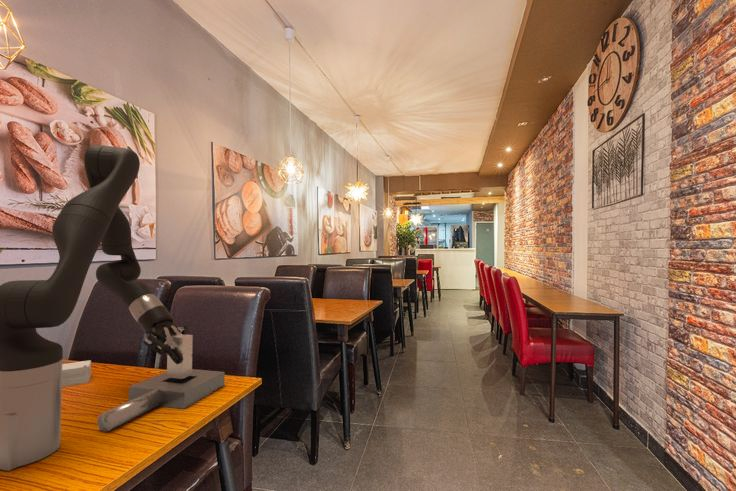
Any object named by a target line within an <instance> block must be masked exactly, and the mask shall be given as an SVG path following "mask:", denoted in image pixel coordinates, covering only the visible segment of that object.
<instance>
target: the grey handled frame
mask: <svg viewBox="0 0 736 491" xmlns="http://www.w3.org/2000/svg"><path fill="white" fill-rule="evenodd" d="M225 375H226V374H225V371H217V370H207V369H206V370H205V369H196V368H195V369H194V368H192V375H190V376H188V377H186V378H183V379H178V378H168V377H167V371H165V372H162V373H160V374H157V375H155V376H152V377H150V378H148V379H145V380H142V381H140V382H137V383H135V384H132V385H130V386H129V387H128V401H126V402H124V403H122V404H120V405H117V406H116V407H113V408H111V409H109V410H107V411H104V412H102V413H100V414H99V415H98V417H97V426H98V429H99V430H100V431H102V432H103V433H108V432H109V431H111V430H113V429H115V428H117V427H119V426H122V425H123V424H125V423H127V422H128V421H131V420H133V419H134V418H137V417H138V416H141V415H143V414H144V413H147V412H148V411H151V410H152V409H154V408H156V407H164V408H172V409H181V410H185V409H187V408H189V407H190V406H192V405H194V404H195V402H196V403H198V402H199V401H201V400H203V399H205V398H206V397H207V395H208V394H209V395H211V394H213V393H214V392H213V391H215V390H216V391H218V390H219V389H218V388H220V387H222V386H223V387H225V384H226V383H225V381H226V380H225V377H226V376H225ZM223 387H222V388H223ZM217 389H218V390H217ZM220 389H221V388H220ZM216 391H215V392H216ZM212 392H213V393H212ZM210 393H211V394H210ZM209 395H208V396H209ZM205 396H206V397H205ZM202 398H203V399H202ZM200 399H201V400H200Z"/></svg>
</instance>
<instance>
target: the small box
mask: <svg viewBox="0 0 736 491" xmlns="http://www.w3.org/2000/svg"><path fill="white" fill-rule="evenodd" d="M91 366H92V360H90V359H89V360H82V361H76V362H68V363H62V388H64V386H65V387H71V386H76V384H77V385H82V384H88V383H90V380H91V376H92V367H91Z"/></svg>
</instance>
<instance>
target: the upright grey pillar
mask: <svg viewBox="0 0 736 491" xmlns="http://www.w3.org/2000/svg"><path fill="white" fill-rule="evenodd" d="M193 336H194V335H193V334H190V335H185V334H178V335H173V336H171V337H169V338H170V339H171V340H172V341H171V343H172V344H173V345H174V347H175V348H174V349H176V350H177V351H178V352H179V354H180V355H181V356H182V357H183V361H182V362H181V363H180V364H176V363H175V362H173V360H172V359H171V358H170V356H169V355H167V356H166V357H167V358H166V359H167V360H166V362H167V363H166V372H167V377H168V378H178V379H183V378H186V377H188V376H190V375H192V369H193V357H192V351H193V341H194V340H193ZM168 347H169V346H168Z"/></svg>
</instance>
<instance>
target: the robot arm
mask: <svg viewBox="0 0 736 491" xmlns="http://www.w3.org/2000/svg"><path fill="white" fill-rule="evenodd" d="M83 156H84V157H83V162H84V163H83V164H84V170H85V175H86V178H87V181H88V186H89V188H88V189H86V190H85V191H83V192H81V193H79V194H77V195H75V196H73V197H72V198H71V199H70V200H68V201H67V202H66V203H65V204H64V206H63V207H62V208H61V209H60V212H59V213H58V214H57V217H56V218H55V220H54V222H53V224H52V227H51V229H52V230H51V231H52V232H51V234H52V237H53V241H54V245H55V247H56V249H57V252H58V256H59V257H58V258H59V259H58V262H57V265H56V268H55V269H54V271H53V273H51V274H52V275H51V276H50V277H49V278H47V279H39V280H38V279H33V280H30V279H25V280H24V279H22V280H19V279H18V280H11V281H7V282H4V283H2V284H0V470H3V471H12V470H13V469H17V468H18V467H22V466H25V465H28V464H32V463H34V462H37V461H40V460H42V459H44V458H46V457H48V456H50V455H52V454H54V453H55V452H56V451H57V450H58V449H59V448H60V446H61V432H62V431H61V429H62V428H61V426H62V425H61V424H62V423H61V421H62V420H61V419H62V392H63V390H62V388H63V387H62V364H63V354H64V351H63V350H64V349H63V346H62V344H60V343H58V342H55V341H52V340H49V339H47V338H45V337H43V336H42V335H41V334H39V333H38V331H37V329H45V328H46V329H47V328H55V327H59V326H61V325H63V324H65V323H66V322H67V321H68V319H69V318H70V317H71V315H72V314H73V311H74V310H75V308H76V305H77V303H78V300H79V298H80V295H81V291H82V289H83V286H84V283H85V281H86V277H87V275H88V272H89V269H90V266H91V264H92V262H93V259H94V257H95V256H96V253H97V251H98V249H99V246H100V245H101V250H102V252H103V254H105V255H109V256H120V260H115V261H110V262H105V263H102V264H100V265H98V267H97V268H96V271H95V277H96V280H97V281H98V283H99V284H100V285H101V286H102V287H103V288H104V289H106V290H107V291H109V292H110V293H112V294H113V295H115V296H116V297H117V298H118V299H120V300H121V301H122V302H123V304H124V305H125V306H126V307H127V309H128V310H129V312H130V313H131V315H132V317H133V318H134V320H135V322H137V324H138V326H139V327H140V328H141V329H142V330H143V332H144V334H146V335H147V336H146V337H145V339H143V341H142V344H144V345H145V346H146V347H148V348H149V349H151V350H153V351H154V352H155V353H157V354H158V355H160V356H162V355H163V354H165V355H169V356H170V358H171V359H172V360H173V362H175V363H176V364H180V363H181V362H182V361H183V357H182V356H181V355H180V354H179V352H178V351H177V350H176V349H174V348H175V347H174V345H173V344H172V343H171V341H172V340H171V339H170V338H169V337H171V336H173V335H178V334H185V335H191V334H190V332H189V329H188V326H187V325H186V324H185V325H183V326H181V327H180V326H178V325H177V324H176V323H174V321H173V315H172V314H171V313H170V311H169V310H168V309H167V307H166V306H165V305H164V304H163V303H162V302H161V300H160V299H159V298H158V297H157V296H156V295H155V294H154V293H153V291H152V290H151V289H150V288H149V286H148V285H147V284H146V283H145V282H143V281H136V280H138V279H139V277H140V275H141V273H142V270H141V269H142V268H141V266H140V263H139V261H138V259H137V256H136V253H135V251H134V246H133V242H132V240H133V239H132V228H131V224H130V221H129V219H128V217H127V215H125V213H124V211H123V210H122V209H121V208H120V205H121V202H122V200H123V199H124V197H125V196H126V194H127V193H128V191H129V190H130V188H131V187H132V185H134V183H135V180H136V178H137V177H138V174H139V171H140V166H141V161H140V157H139V156H138V154H137V153H136V151H134V150H132V149H129V148H126V147H121V146H120V147H119V146H110V145H103V144H102V145H101V144H92V145H89V146H88V147H87V148H86V149H85V152H84V155H83ZM168 346H169V347H168ZM194 356H195V352H194V351H193V350H192V358H194Z"/></svg>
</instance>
